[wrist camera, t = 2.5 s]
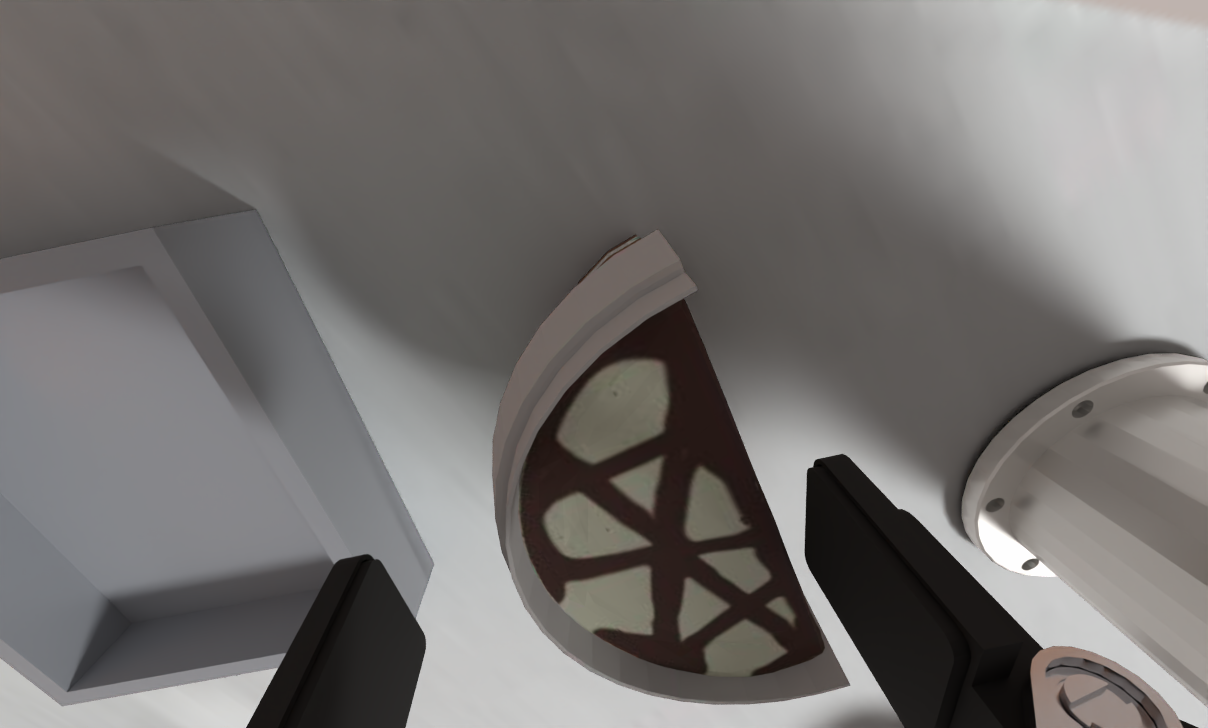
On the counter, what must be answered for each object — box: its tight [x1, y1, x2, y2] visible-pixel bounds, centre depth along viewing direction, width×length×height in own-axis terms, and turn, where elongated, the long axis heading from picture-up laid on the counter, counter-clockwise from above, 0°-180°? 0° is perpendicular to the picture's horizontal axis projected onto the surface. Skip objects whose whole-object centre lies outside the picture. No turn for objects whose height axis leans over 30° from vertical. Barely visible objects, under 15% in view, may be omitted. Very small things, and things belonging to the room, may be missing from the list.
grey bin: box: [0, 210, 434, 706], centre depth 17 cm, size 15×17×4 cm
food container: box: [492, 229, 850, 704], centre depth 14 cm, size 12×6×10 cm, turn 25°
